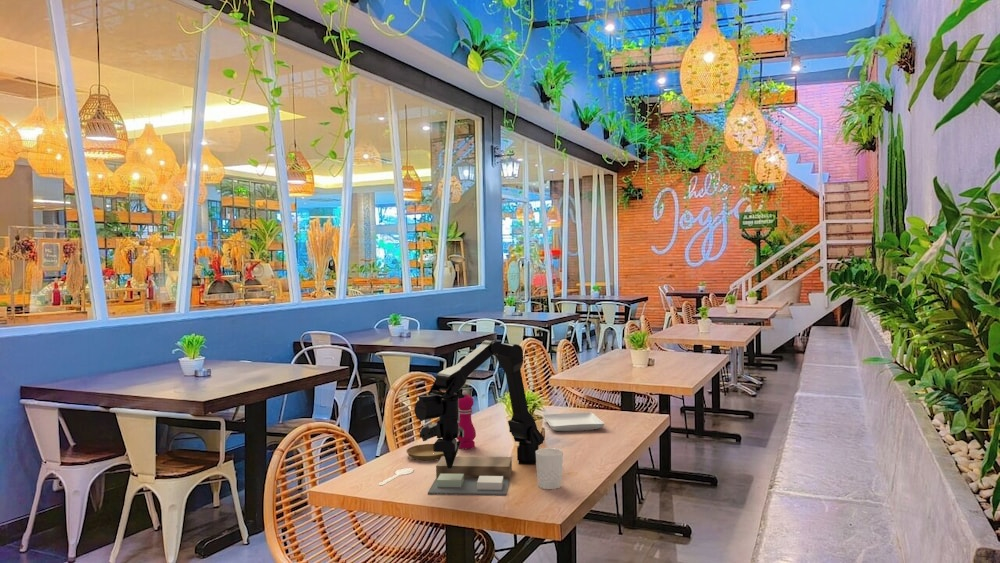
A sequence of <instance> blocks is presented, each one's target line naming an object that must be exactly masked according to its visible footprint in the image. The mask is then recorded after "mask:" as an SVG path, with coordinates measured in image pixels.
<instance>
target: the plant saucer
mask: <svg viewBox="0 0 1000 563" xmlns="http://www.w3.org/2000/svg"><path fill="white" fill-rule="evenodd" d="M433 445H434V443H424V444H422V443H421V444H416V445H412V446H410V447H408V448H407V449H406V454H407V455H408V456H409V457H410V458H411V459H413V460H415V461H418V462H433V461H439V460H440V459H441V457H442V456H444V453H443V452H434V451H433ZM433 453H434V454H433Z"/></svg>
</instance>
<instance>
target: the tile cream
mask: <svg viewBox="0 0 1000 563" xmlns="http://www.w3.org/2000/svg"><path fill="white" fill-rule="evenodd" d="M502 487H503V476H479V478H478V481H477V489H486V490H502Z"/></svg>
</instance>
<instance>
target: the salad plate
mask: <svg viewBox="0 0 1000 563" xmlns="http://www.w3.org/2000/svg"><path fill="white" fill-rule="evenodd" d="M541 416H542V418H543V419H544V420H545V422H547V423H548V426H549V427H550V428H551V429H552V430H553V431H557V432H580V431H581V432H582V431H583V432H584V430H585V431H594V429H595V430H598V429H601V428H602V427H604V426H605V422H604V421H603V420H601V419H600V417H598V416H597V415H596V414H595V413H594V412H565V413H549V414H548V413H547V414H542V415H541Z"/></svg>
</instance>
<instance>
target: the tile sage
mask: <svg viewBox="0 0 1000 563" xmlns="http://www.w3.org/2000/svg"><path fill="white" fill-rule="evenodd" d="M463 482H464V474H440V475H439V477H438V479H437V487H461V486H462V484H463Z"/></svg>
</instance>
